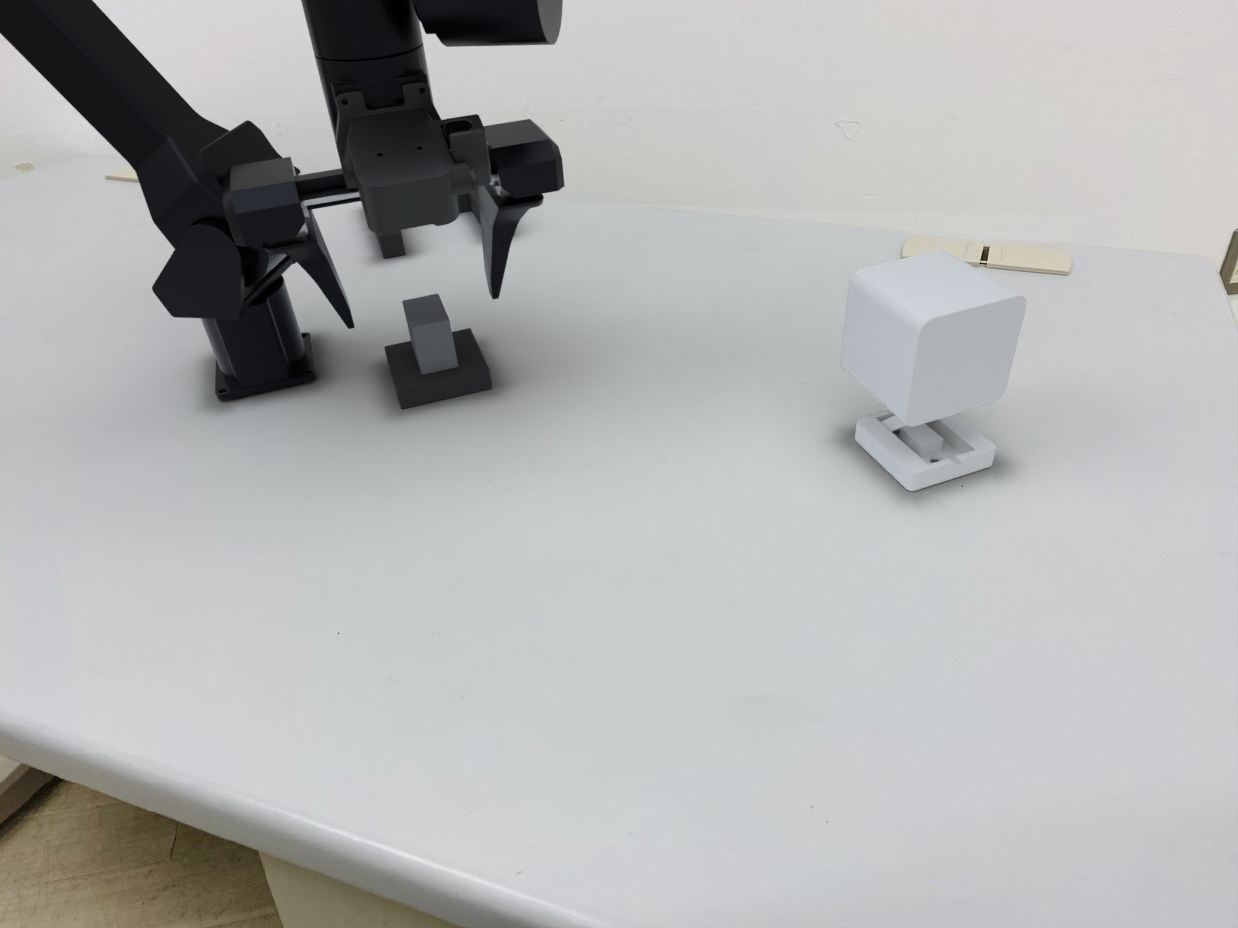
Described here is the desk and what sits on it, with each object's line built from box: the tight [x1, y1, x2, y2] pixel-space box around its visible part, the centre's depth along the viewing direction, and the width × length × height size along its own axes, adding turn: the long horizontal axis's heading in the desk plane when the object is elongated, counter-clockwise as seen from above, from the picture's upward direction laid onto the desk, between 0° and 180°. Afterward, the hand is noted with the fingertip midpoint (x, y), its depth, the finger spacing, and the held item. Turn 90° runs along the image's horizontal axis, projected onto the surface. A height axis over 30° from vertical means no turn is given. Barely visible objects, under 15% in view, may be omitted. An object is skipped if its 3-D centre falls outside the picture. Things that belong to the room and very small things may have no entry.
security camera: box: [839, 249, 1028, 492], centre depth 48 cm, size 6×7×10 cm
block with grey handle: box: [383, 293, 493, 410], centre depth 58 cm, size 6×6×5 cm
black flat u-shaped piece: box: [374, 192, 481, 259], centre depth 81 cm, size 12×11×2 cm
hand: (424, 311), depth 57 cm, fingers open, 9 cm apart
